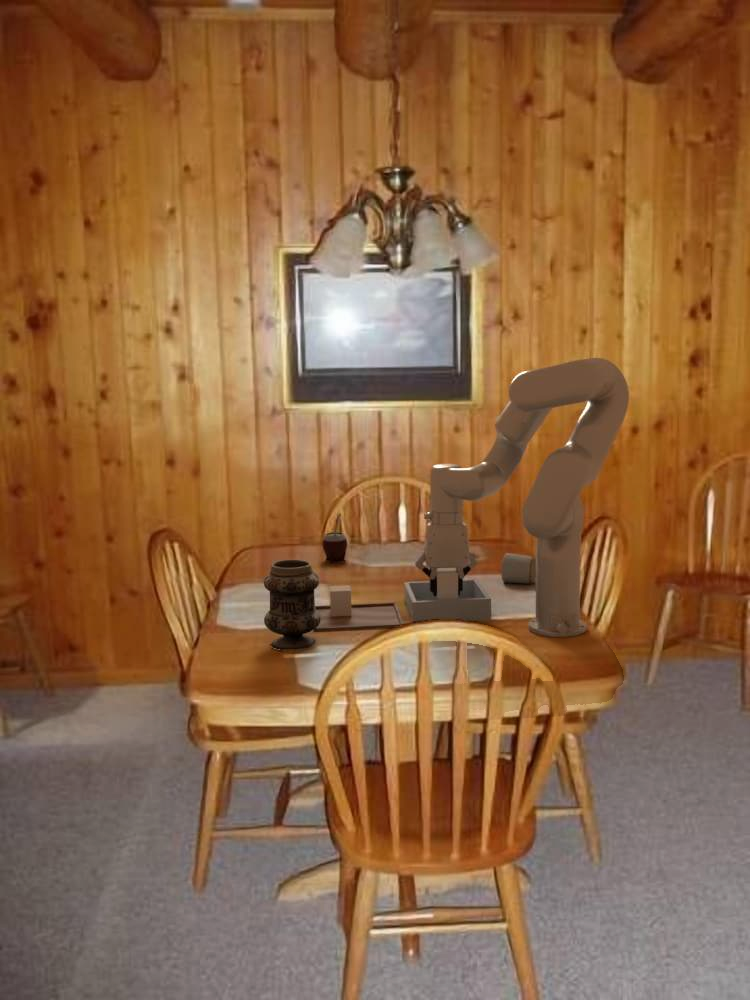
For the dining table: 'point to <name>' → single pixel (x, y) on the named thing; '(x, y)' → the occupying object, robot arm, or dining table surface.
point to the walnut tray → (361, 617)
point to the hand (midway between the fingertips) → (446, 593)
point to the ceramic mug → (518, 568)
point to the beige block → (447, 583)
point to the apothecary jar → (292, 603)
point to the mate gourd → (335, 545)
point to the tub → (447, 602)
